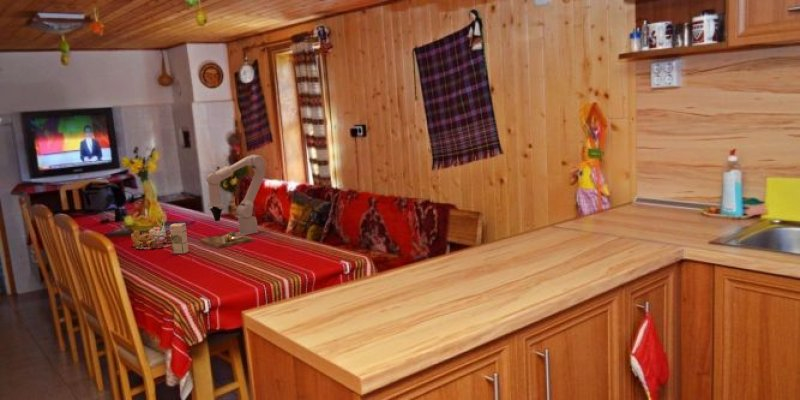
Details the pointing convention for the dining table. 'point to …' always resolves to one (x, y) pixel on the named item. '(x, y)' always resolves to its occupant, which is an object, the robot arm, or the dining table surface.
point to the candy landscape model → (155, 234)
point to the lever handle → (234, 237)
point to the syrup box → (179, 238)
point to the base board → (217, 243)
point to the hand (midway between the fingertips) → (217, 220)
